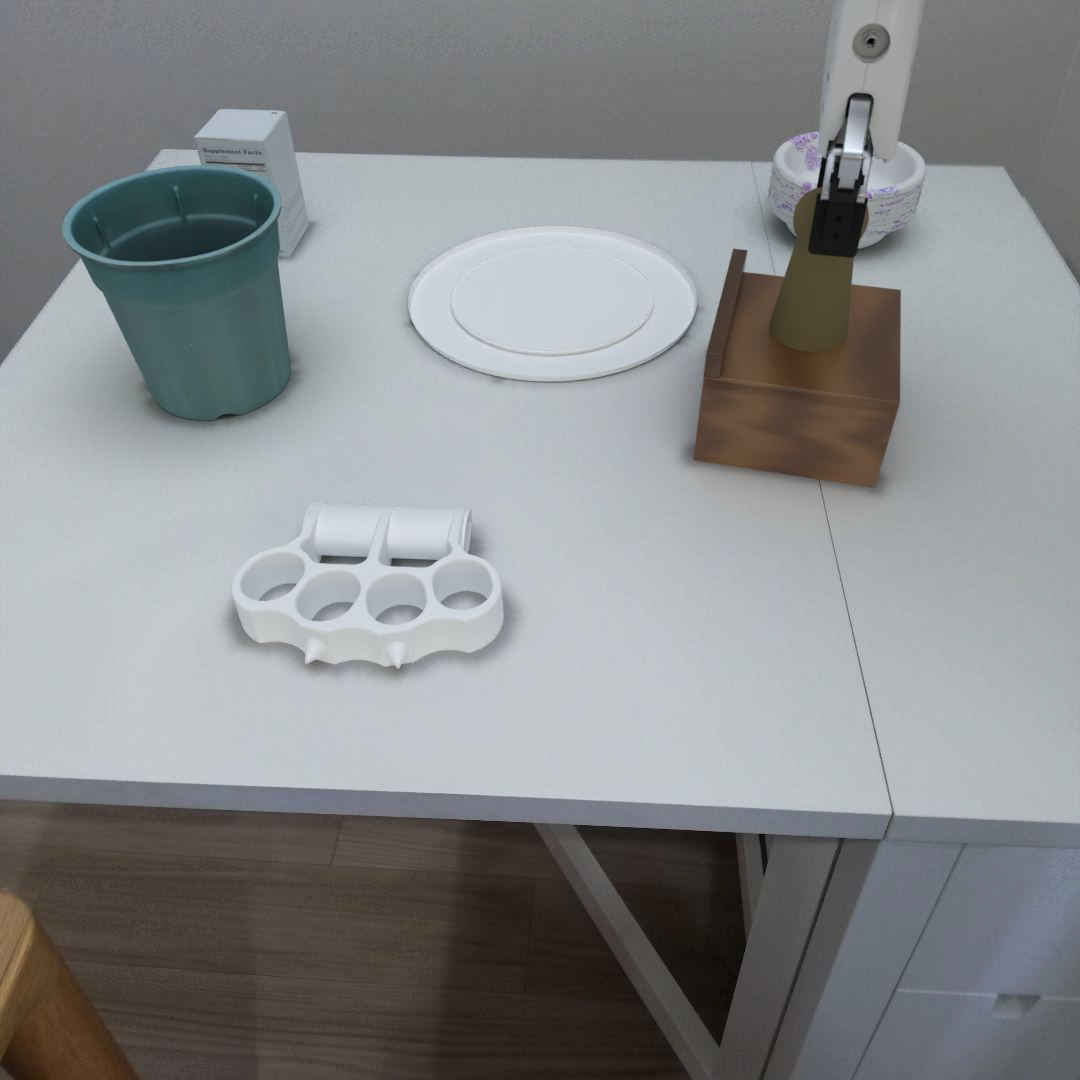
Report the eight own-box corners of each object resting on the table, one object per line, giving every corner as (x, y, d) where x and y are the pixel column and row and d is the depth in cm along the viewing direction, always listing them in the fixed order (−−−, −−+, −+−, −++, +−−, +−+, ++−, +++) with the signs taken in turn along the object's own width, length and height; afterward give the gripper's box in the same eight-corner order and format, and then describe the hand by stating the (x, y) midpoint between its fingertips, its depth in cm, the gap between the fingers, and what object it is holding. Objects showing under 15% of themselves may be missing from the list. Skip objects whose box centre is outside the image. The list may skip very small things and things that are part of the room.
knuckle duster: (515, 531, 72) (494, 690, 62) (278, 521, 74) (218, 676, 63) (514, 497, 70) (492, 657, 60) (268, 488, 71) (204, 643, 61)
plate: (757, 307, 94) (758, 301, 93) (528, 423, 81) (528, 416, 81) (569, 207, 110) (569, 201, 109) (354, 291, 97) (353, 285, 97)
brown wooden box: (878, 372, 86) (907, 267, 79) (874, 489, 75) (907, 379, 68) (719, 351, 89) (733, 248, 82) (693, 461, 78) (706, 352, 71)
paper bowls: (799, 274, 98) (812, 199, 93) (741, 208, 109) (751, 137, 103) (936, 254, 101) (957, 180, 95) (867, 191, 111) (883, 121, 106)
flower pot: (343, 401, 84) (310, 226, 73) (152, 463, 79) (84, 283, 68) (282, 314, 95) (245, 149, 83) (109, 363, 89) (44, 193, 78)
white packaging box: (247, 223, 108) (219, 106, 100) (311, 226, 108) (288, 109, 99) (222, 255, 103) (190, 135, 94) (290, 259, 102) (264, 138, 94)
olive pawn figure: (761, 343, 75) (784, 207, 67) (776, 304, 79) (799, 171, 71) (841, 358, 73) (874, 219, 66) (852, 317, 77) (884, 182, 70)
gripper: (959, -10, 51) (888, 287, 63) (948, -84, 63) (890, 176, 75) (812, -15, 53) (770, 275, 64) (828, -87, 65) (790, 168, 76)
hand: (835, 221), depth 70 cm, fingers open, 9 cm apart
